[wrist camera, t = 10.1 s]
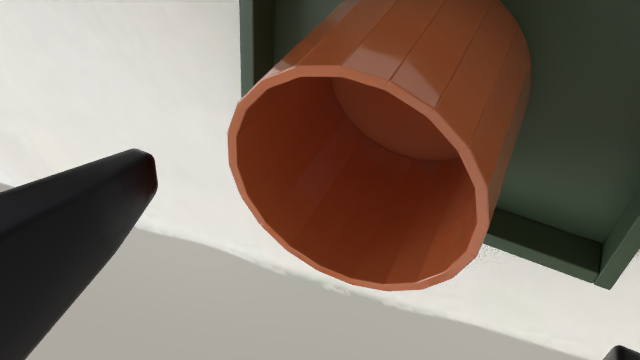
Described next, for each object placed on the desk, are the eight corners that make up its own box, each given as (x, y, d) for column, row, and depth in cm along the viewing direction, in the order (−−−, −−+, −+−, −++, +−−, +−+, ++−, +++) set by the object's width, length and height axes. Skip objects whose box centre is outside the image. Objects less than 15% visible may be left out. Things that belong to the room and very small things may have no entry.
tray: (266, 128, 25) (241, 155, 24) (271, -163, 18) (234, -151, 16) (613, 249, 22) (610, 291, 20) (815, -58, 14) (836, -28, 12)
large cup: (319, 125, 23) (231, 235, 18) (337, -57, 18) (222, 29, 13) (495, 184, 21) (448, 324, 16) (567, -1, 16) (532, 123, 11)
